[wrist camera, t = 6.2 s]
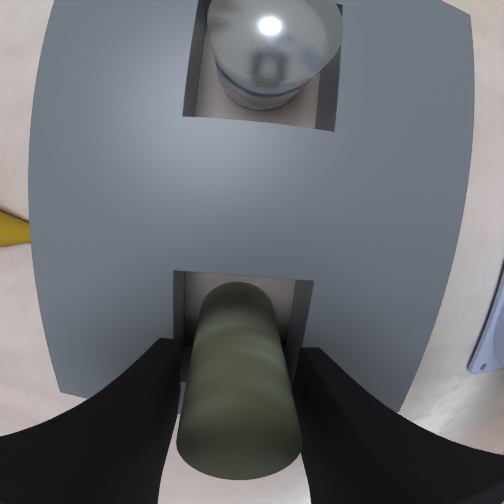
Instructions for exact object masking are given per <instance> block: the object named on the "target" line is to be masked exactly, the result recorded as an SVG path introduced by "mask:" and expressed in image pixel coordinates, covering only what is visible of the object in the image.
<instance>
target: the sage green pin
mask: <svg viewBox="0 0 504 504" xmlns="http://www.w3.org/2000/svg"><path fill="white" fill-rule="evenodd" d="M176 445H177V450H178V452H179V454H180V456H181V457H182V458H183V460H184V461H185V462H186V463H187V464H189V465H190V466H191V467H193V468H194V469H196V470H198V471H200V472H202V473H204V474H207V475H210V476H213V477H217V478H222V479H229V480H249V479H256V478H261V477H265V476H269V475H271V474H274V473H277V472H279V471H281V470H282V469H284V468H286V467H287V466H289V465H290V464H291V463H292V462H293V461H294V460H295V459H296V458H297V457H298V455H299V454H300V452H301V449H302V445H303V440H302V435H301V430H300V426H299V421H298V417H297V412H296V408H295V403H294V399H293V394H292V390H291V385H290V381H289V377H288V372H287V368H286V363H285V359H284V354H283V350H282V346H281V341H280V337H279V333H278V328H277V324H276V319H275V315H274V311H273V306H272V304H271V301H270V299H269V298H268V297H267V295H266V294H265V293H264V292H263V291H262V290H260V289H259V288H257V287H256V286H253V285H251V284H248V283H243V282H230V283H226V284H223V285H220V286H218V287H216V288H215V289H213V290H212V291H211V292H210V293H209V294H208V295H207V296H206V298H205V299H204V301H203V303H202V306H201V311H200V315H199V320H198V325H197V330H196V335H195V340H194V345H193V351H192V356H191V361H190V366H189V371H188V377H187V382H186V388H185V393H184V399H183V404H182V410H181V416H180V422H179V427H178V433H177V440H176Z"/></svg>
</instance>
